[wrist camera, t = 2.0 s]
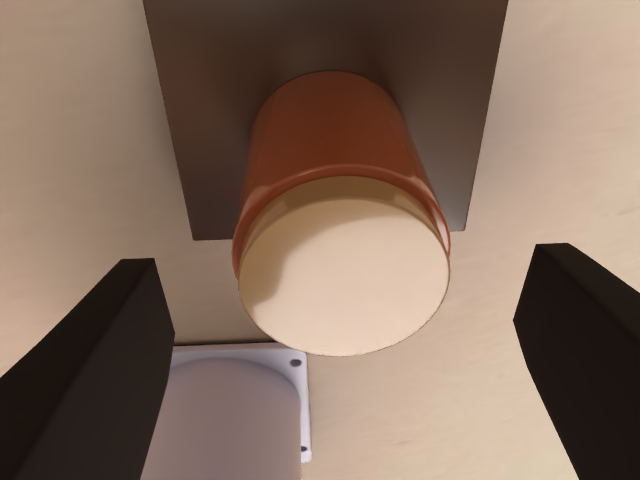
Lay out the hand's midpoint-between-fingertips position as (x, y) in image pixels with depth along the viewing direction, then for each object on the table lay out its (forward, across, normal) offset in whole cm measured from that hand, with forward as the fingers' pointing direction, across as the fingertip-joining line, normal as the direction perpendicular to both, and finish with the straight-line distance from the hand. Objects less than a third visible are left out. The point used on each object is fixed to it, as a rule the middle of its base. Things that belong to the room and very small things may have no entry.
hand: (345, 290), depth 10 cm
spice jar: (+6, 0, 0) cm, 6 cm away
